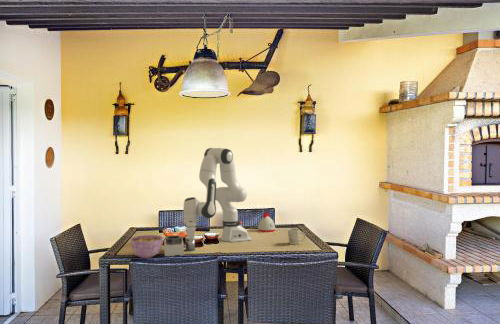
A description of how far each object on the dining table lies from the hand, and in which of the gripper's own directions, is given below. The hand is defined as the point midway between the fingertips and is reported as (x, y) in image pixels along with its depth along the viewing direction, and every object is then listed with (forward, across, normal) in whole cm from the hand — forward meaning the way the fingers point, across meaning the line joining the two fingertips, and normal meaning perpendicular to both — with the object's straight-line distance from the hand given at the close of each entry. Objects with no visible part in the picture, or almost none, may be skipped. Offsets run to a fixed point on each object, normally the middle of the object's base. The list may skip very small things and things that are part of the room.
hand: (190, 242), depth 281 cm
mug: (+5, -2, +75) cm, 75 cm away
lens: (+5, -1, 0) cm, 5 cm away
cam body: (+5, +3, -11) cm, 13 cm away
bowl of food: (+6, +10, -28) cm, 30 cm away
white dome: (+4, -51, +66) cm, 83 cm away
